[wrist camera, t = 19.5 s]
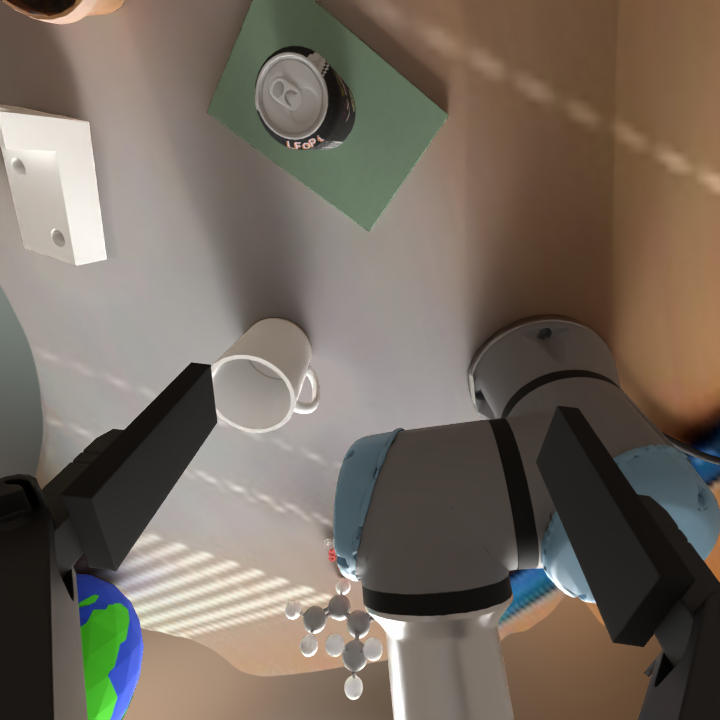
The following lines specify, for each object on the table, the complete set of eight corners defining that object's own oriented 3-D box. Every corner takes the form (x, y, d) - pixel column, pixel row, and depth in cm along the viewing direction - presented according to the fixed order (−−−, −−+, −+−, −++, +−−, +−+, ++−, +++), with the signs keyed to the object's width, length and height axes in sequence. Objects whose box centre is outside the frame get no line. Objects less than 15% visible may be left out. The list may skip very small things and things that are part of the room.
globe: (117, 645, 85) (-10, 867, 59) (-8, 567, 76) (-228, 792, 49) (209, 606, 75) (104, 854, 48) (77, 510, 65) (-144, 756, 39)
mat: (448, 115, 35) (449, 115, 34) (369, 231, 40) (368, 232, 39) (270, -37, 31) (268, -40, 31) (209, 112, 36) (206, 112, 36)
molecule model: (416, 530, 63) (422, 613, 48) (413, 610, 67) (416, 711, 52) (294, 521, 65) (262, 599, 50) (297, 600, 69) (268, 694, 54)
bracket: (32, 108, 38) (-66, 95, 32) (88, 121, 37) (-3, 111, 30) (57, 243, 45) (-21, 254, 38) (106, 259, 43) (34, 274, 37)
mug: (235, 366, 49) (198, 415, 40) (250, 302, 45) (211, 341, 36) (320, 395, 50) (302, 450, 41) (342, 335, 46) (327, 381, 36)
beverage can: (311, 57, 33) (269, 15, 23) (369, 99, 34) (354, 78, 24) (281, 125, 36) (231, 115, 25) (336, 162, 37) (309, 168, 26)
